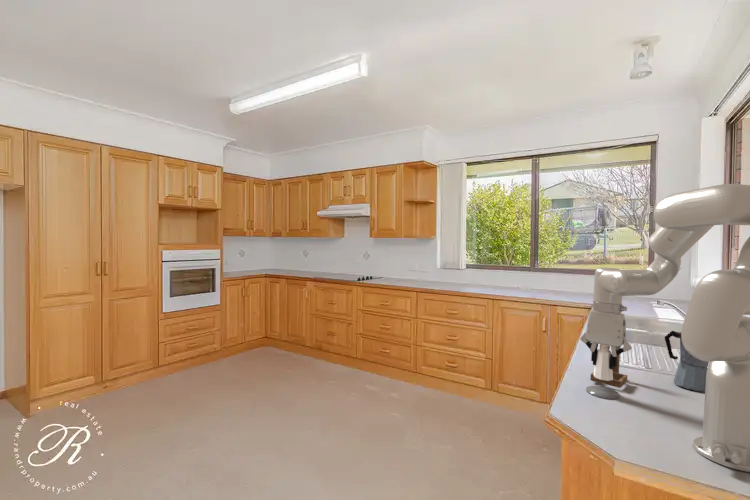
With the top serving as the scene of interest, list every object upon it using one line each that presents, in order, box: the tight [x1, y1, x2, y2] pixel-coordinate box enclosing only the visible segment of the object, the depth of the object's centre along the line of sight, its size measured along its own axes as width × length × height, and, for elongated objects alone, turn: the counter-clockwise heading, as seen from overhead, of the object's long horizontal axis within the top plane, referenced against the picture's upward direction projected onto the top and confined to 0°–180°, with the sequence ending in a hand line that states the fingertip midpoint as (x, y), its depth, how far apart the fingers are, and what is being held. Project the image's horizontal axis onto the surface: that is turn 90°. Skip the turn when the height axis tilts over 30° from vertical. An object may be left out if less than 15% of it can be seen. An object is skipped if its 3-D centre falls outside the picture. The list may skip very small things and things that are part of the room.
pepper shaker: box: [593, 344, 613, 381], centre depth 119 cm, size 5×5×11 cm
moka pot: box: [664, 330, 709, 393], centre depth 126 cm, size 10×15×20 cm, turn 78°
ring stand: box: [590, 347, 628, 389], centre depth 129 cm, size 14×9×16 cm, turn 134°
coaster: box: [585, 385, 621, 400], centre depth 119 cm, size 9×9×1 cm
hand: (603, 365), depth 119 cm, fingers closed on pepper shaker, 4 cm apart
